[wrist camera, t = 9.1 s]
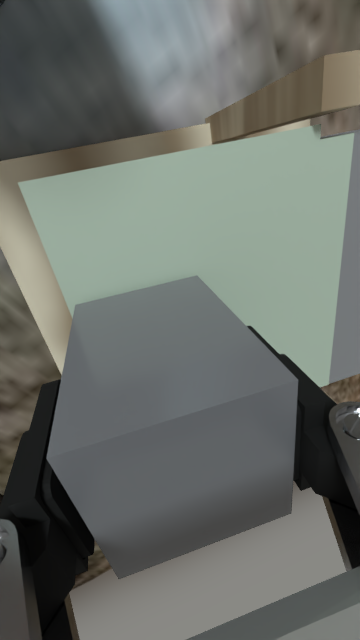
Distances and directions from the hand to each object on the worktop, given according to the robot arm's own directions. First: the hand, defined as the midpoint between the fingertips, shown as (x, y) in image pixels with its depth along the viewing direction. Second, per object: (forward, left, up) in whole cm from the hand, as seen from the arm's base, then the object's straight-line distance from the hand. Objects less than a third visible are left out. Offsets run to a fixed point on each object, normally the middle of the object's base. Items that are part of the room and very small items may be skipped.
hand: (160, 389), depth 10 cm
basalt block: (0, 0, -3) cm, 3 cm away
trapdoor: (-6, 0, -8) cm, 10 cm away
